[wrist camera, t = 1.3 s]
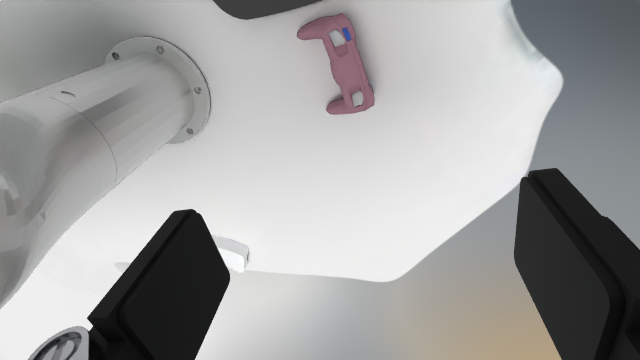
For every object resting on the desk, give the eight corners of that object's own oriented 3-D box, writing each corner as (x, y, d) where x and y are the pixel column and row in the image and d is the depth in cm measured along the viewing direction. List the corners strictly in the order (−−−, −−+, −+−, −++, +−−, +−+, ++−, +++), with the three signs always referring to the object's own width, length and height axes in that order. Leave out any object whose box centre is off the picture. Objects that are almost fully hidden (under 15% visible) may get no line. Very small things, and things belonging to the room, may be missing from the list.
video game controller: (360, 98, 40) (389, 108, 34) (326, 115, 39) (349, 129, 33) (330, 10, 35) (357, 3, 29) (291, 28, 35) (310, 25, 28)
